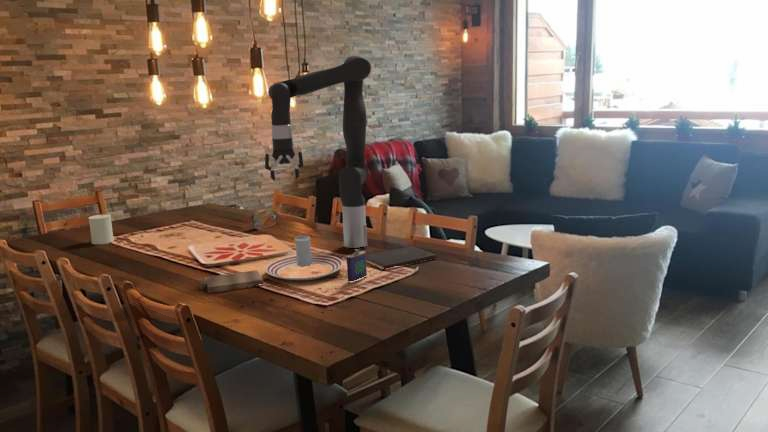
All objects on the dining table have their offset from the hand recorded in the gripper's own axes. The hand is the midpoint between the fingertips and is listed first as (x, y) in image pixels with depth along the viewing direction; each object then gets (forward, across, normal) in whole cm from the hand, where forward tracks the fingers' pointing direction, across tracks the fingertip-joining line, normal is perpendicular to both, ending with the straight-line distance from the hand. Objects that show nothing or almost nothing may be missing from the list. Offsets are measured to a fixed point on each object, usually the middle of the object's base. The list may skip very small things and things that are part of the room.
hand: (285, 179), depth 247 cm
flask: (+30, +17, -40) cm, 53 cm away
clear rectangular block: (+30, -5, +55) cm, 63 cm away
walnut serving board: (+30, -24, -28) cm, 48 cm away
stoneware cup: (+27, +2, -25) cm, 37 cm away
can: (+30, -75, +57) cm, 99 cm away
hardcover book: (+31, +37, -22) cm, 53 cm away
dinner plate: (+31, +2, -25) cm, 39 cm away
